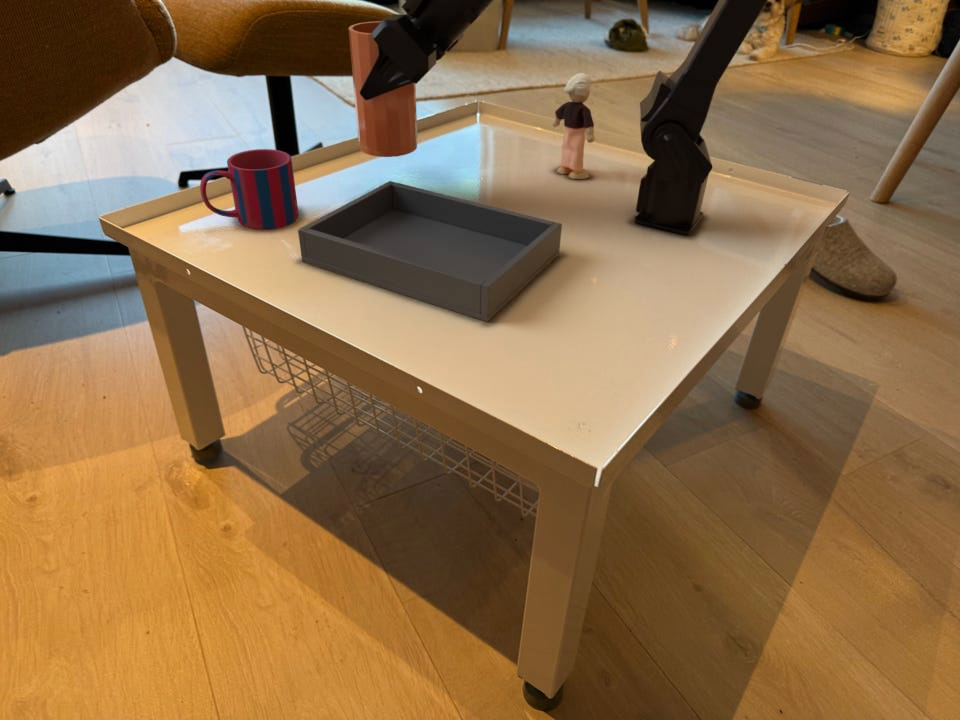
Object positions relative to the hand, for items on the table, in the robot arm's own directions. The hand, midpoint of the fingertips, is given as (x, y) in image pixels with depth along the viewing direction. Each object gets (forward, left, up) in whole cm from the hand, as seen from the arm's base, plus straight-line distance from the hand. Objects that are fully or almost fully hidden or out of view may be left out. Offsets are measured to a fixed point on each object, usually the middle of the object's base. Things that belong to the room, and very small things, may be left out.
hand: (372, 88), depth 79 cm
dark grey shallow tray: (-15, +11, -12) cm, 22 cm away
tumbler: (-1, -1, -7) cm, 7 cm away
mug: (+7, +14, -13) cm, 20 cm away
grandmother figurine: (-17, -20, -13) cm, 29 cm away
